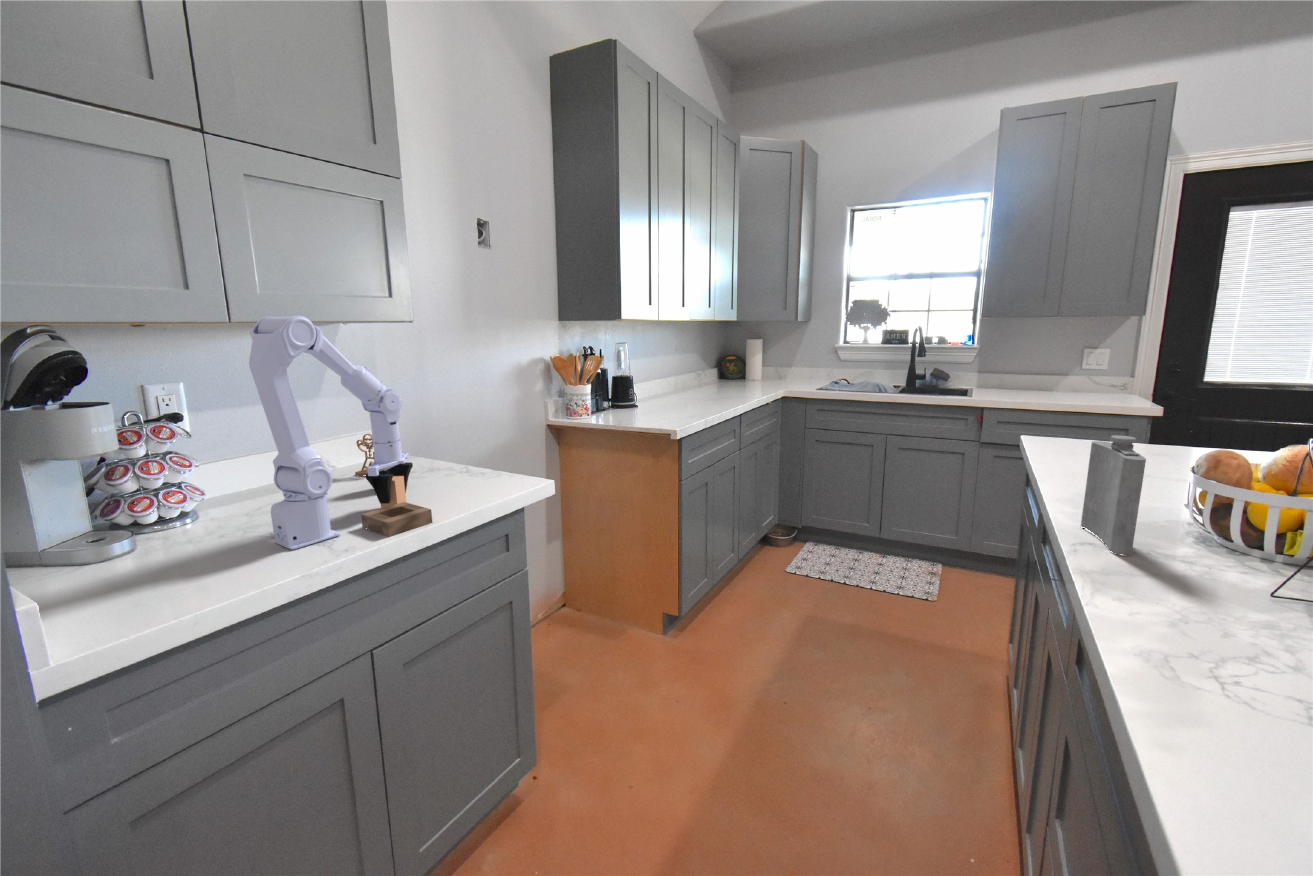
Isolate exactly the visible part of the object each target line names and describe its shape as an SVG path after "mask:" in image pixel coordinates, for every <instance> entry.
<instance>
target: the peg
mask: <svg viewBox="0 0 1313 876" xmlns="http://www.w3.org/2000/svg"><path fill="white" fill-rule="evenodd" d="M390 492H391V498H390V503H388V504H381V503H380V509H381V508H385V507H388V506H392V505H395V504H399V503H402V502H406V503H407V495H406V494H407V493H405V485H404V476H393V478H392V481H391V488H390Z"/></svg>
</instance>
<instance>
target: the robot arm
mask: <svg viewBox="0 0 1313 876" xmlns="http://www.w3.org/2000/svg"><path fill="white" fill-rule="evenodd" d="M249 333H250V337H251V341H252V342H251V346H250V347H251V349H250V353H249V359H248V360H249V361H248V365H249V369H250V373H251V376H252V378H253V381H254V384H255V388H256V390H257V393H258V396H259V399H260V402H261V405H262V408H263V411H264V414H265V417H266V420H267V422H268V426H269V429H270V431H271V434H272V438H273V441H274V444H275V447H276V449H277V453H278V454H277V455H276V456H275V458H274V459H273V460H272V464H273V466H274V474H273V482H274V485H275V487H276V488H277V489H278V490H280V491H281V492H282V497H284V499H282V500H281V501H278V502H275V503H273V504H272V505H271V507H270V518H271V522H272V523H271V524H272V529H273V536H274V539H273V543H275V544H277V545H279V546H282V547H285V548H287V549H289V550H296V549H300V548H303V547H306V546H309V545H312V544H315V543H319V542H323V541H325V540H326V541H327V540H329V539H333V538H337V537H339V536H341V532H340V531H336V530H333V529H331V528H332V526H331V521H330V520H331V519H330V513H329V505H328V504H329V503H328V497H327V496H328V493H329V492H328V491H329V490H330V489H331V487H332V484H333V474H332V472H331V470H330V469H329V468H328V467H327V466H326V465H325V464H324V461H323V458H322V456H320V454H319V453H318V452H317V451H315V450H314V448H313V447H312V446H311V445H310V441H309V439H308V438H309V437H308V434H307V431H306V429H305V425H304V422H303V418H302V416H301V412H300V410H299V406H298V402H297V400H296V397H295V393H294V390H293V387H292V383H291V381H290V378H289V375H288V374H289V373H288V372H287V369H288V368H289V366H290V365H291V364H292V362H293V361H294V359H296V358H297V357H298V356H300V355H302V354H303V353H305V354H309V355H311V356H312V357H314V358H315V359H316V360H318V361H320V363H322V364H323V365H324V366H325V367H327V368H328V369H329V370H331V371H332V372H334V373H335V374H336V375H338V376H339V377H340V384H341V386H342V387H344V388H345V389H346V390H347V391H348V392H350V393H351V394H352V395H354V396H355V397H356V398H357V399H359V401H360V402H361V405H362V409H364V411H366V412H368V413H369V418H370V428H371V435H372V438H373V452H374V456H375V461H374V460H373V461H372V462H373V463H372V465H371V466H369V465H368V466H369V467H368V466H367V467H368V468H367V470H368V474H366V476H365V479H366V480H367V482H368V483H369V484H370V486H371V487H372V488H373V491H374V493H375V495H376V497H377V499H378V502H379V504H380V505H381V504H388V503H390V498H391V492H390V488H391V481H392V478H393V476H404V485H405V494H407V487H408V481H409V477H410V473H411V470H412V469H413V462H408V461H410V456H409V452H402V443H401V433H400V423H399V420H400V418H401V416H400V412H401V409H402V407H403V399H401V397H400V395H399V394H398V392H397V391H396V390H395V389H391V388H387V387H386V386H385V385H386V383H384V382H383V381H380V380H379V379H378V378H376V377H375V376H374V375H373V374H372V373H371V369H370V368H369V367H368V366H362V365H359V364H355V365H354V364H353V363H351V362H350V361H349V360H348V359H347V357H345V356H344V355H343V353H341V352H340V351H339V349H337V348H336V347H335V345H333V344H332V343H331V342H330V341H329V340H328V339H327V338H326V337H325V336H324V335H323V332H322V329H321V328H320V327H318V326H316V324H313V322H312V321H311V320H310V319H309V318H307V317H305V316H303V315H292V316H270V315H269V316H264V317H262V318H260V319H259V320H258V321H257V322H256V323H255V325H254V326H253V327H252V328H251V330H250V331H249ZM387 469H388V470H389V472H390V474H386V473H385V470H387Z"/></svg>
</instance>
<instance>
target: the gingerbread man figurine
mask: <svg viewBox="0 0 1313 876" xmlns="http://www.w3.org/2000/svg"><path fill="white" fill-rule="evenodd" d="M366 436H369V437H366ZM356 446H357V448H358V449H359V451H361V452H363V453H364V455H365V456H364V457H365V459H364V461H363V462H364V463H363V465H362V467H361V470H358V471H355V472H354V475H366V474H368V470H367V468H368V467H369V466H371V465H372V463H373V462H374V461H375V456H374V451H372V450H374V447H373V438H372V433H365V434H364V435H362V439H358V440H356ZM361 446H362V447H365V448H366V450H364V449H363V448H362V447H361ZM367 450H368V451H367ZM371 452H372V453H371ZM368 460H370V461H369V464H368V466H366V464H367V461H368ZM372 460H373V461H372Z"/></svg>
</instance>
